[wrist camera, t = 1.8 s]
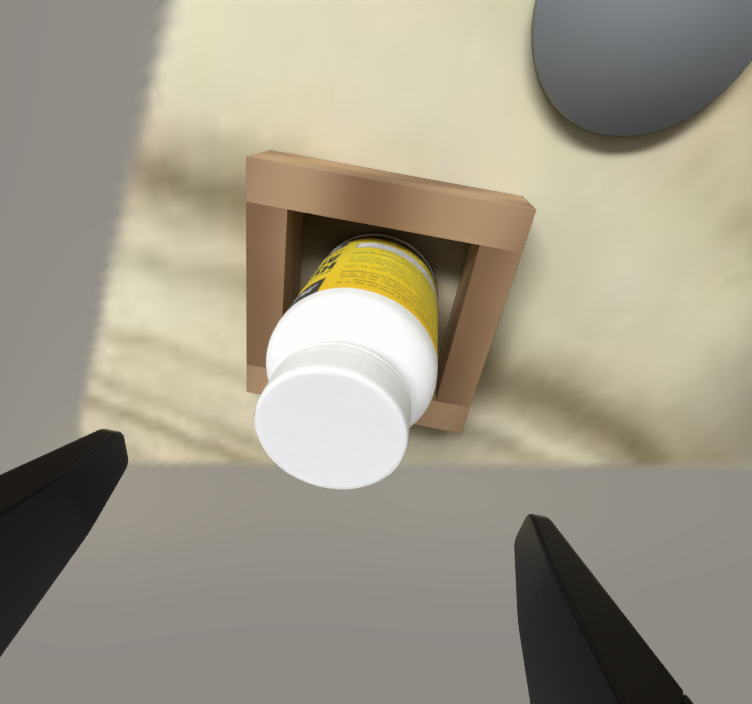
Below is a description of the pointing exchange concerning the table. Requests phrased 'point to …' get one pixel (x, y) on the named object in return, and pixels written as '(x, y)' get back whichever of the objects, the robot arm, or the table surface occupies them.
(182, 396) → the table surface
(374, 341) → the supplement bottle
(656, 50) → the coaster
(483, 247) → the wooden frame
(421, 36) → the table surface
